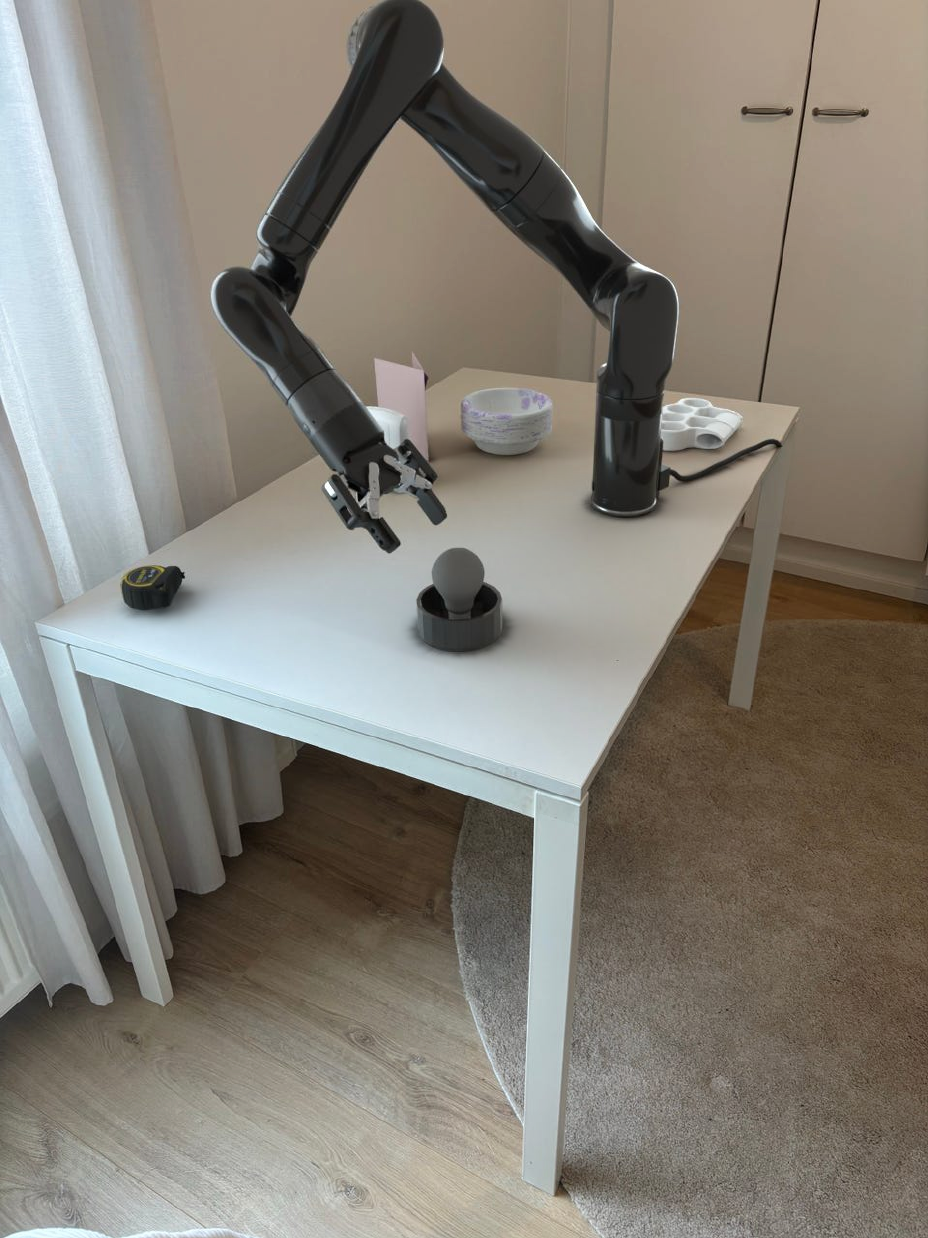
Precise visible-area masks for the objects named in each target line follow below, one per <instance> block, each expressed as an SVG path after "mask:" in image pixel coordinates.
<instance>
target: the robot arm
mask: <svg viewBox="0 0 928 1238" xmlns="http://www.w3.org/2000/svg"><path fill="white" fill-rule="evenodd" d="M347 33H348V34H347V37H346V45H345V46H346V58H347V62H348V66H349V67H350V72H349V75H348V77H347V79H346V82H345V83H344V86H343V88H342V90H341V92H340V94H339V95H338V98H337V99H336V101H335V103H334V105H333V107H332V109H331V110H330V111H329V113H328V115H327V117H326V118H325V119H324V121H323V123H322V124H321V125H320V126H319V128H318V130H317V131H316V133H315V134H314V136H313V137H312V138H311V139H310V141H309V142H308V144H307V145H306V146H305V148H304V149H303V150H302V152H301V153H300V154H299V156H298V157H297V159H296V160H295V161H294V162H293V164H292V166H291V167H290V169H289V170H288V172H286V174H285V176H284V177H283V179H282V181H281V182H280V183H279V186H278V187H277V189H276V191H275V193H274V194H273V196H272V198H271V200H270V202H269V203H268V205H267V207H266V209H265V211H264V213H263V214H262V216H261V218H260V220H259V222H258V224H257V227H256V230H255V240H256V242H257V246H258V248H257V252H256V255H255V257H254V259H253V261H252V264H251V267H246V266H239V265H237V266H236V265H235V266H231V267H228V268H225V269H223V270H222V271H220V272H219V273H218V274H217V275H216V276H215V278H214V279H213V281H212V283H211V286H210V289H209V290H210V291H209V301H210V302H209V303H210V307H211V310H212V312H213V315H214V317H215V318H216V320H217V322H218V323H219V324H220V326H221V327H222V328H223V330H224V331H225V333H227V335H228V336H229V337H230V338H231V340H233V342H234V343H235V344H236V345H237V346H238V347H239V348H240V349H241V351H242V352H243V353H245V355H246V356H248V358H249V359H250V360H251V361H252V362H253V363H254V364H255V365H256V366H257V367H258V368H259V369H260V371H261V372H262V373H263V374H264V376H265V377H266V379H267V381H268V382H269V384H270V385H271V387H272V388H273V389H274V391H275V392H276V393H277V395H278V396H279V398H280V399H281V400H282V402H283V404H285V406H286V407H287V408H288V410H289V413H290V414H291V415H292V418H293V420H294V421H295V424H297V426H298V427H299V429H300V430H301V431H302V433H303V434H304V435H305V437H306V439H308V441H309V442H310V444H311V445H312V446H313V448H314V449H315V451H316V452H317V453H318V454H319V456H320V458H322V460H323V462H324V463H325V464H326V466H327V467H328V468H329V469H330V471H331V472H335V473H333V474H332V475H330V476H329V478H328V479H327V480H326V481H325V483H323V484H322V486H321V491H322V493H323V495H324V496H325V498H326V499H327V501H328V502H329V504H330V505H331V507H332V508H333V509H334V511H335V512H336V514H337V516H338V517H339V519H340V520H341V522H342V523H343V525H344V526H345V528H346V529H347V530H349V531H354V530H355V529H359V528H362V529H364V530H366V531H367V532H368V533H369V535H370V536H371V537H372V539H373V540H374V541H375V543H376V544H377V545H378V547H379V549H381V550H382V551H384V552H386V553H387V554H392V553H393V552H395V551H396V550H397V549H398V548H399V547H400V546H401V545H402V543H401V540H400V538H398V535H397V534H396V533H395V532H394V530H393V529H392V528H391V526H390V525H389V523H388V522H387V520H385V518H384V517H383V516H380V508H379V507H380V506H379V501H380V498H381V497H382V496H384V495H388V494H390V493H392V492H393V491H394V492H396V493H398V494H406V495H408V496H410V497H412V498H414V499H416V503H417V504H418V506H419V507H420V509H421V510H422V511H423V512H424V514H425V516H427V518H428V520H429V521H430V522H431V524H432V525H434V526H438V525H440V524H442V522H444V521H445V520H446V519H447V518H448V514H447V510H446V507H445V506H444V504H443V503H442V502H441V501H440V499H439V498H438V496H437V495H436V494H435V492H434V491H433V488H432V487H433V485H434V483H435V482H436V481H437V480H438V478H439V475H438V473H437V472H436V470H435V469H434V468H433V467H432V466H431V464H430V463H429V461H427V460H426V459H425V458H424V457H423V456H422V454H421V453H420V452H419V451H418V449H417V448H416V447H415V446H414V444H413V443H412V442H411V441H410V440H408V439H405V440H404V441H403V442H402V443H401V444H400V445H399V446H398V447H396V448H395V449H393V448H391V447H390V446H388V445H387V444H386V442H385V439H384V431H383V429H382V428H381V427H380V425H379V424H378V423H377V421H376V420H375V419H374V417H373V416H372V414H371V413H370V412H369V410H368V409H367V408H366V407H367V406H366V404H364V402H363V401H362V399H361V397H359V396H358V394H357V392H355V390H354V388H353V387H352V386H351V385H350V383H348V381H347V380H346V379H345V378H344V377H343V376H342V375H341V374H340V373H339V372H338V371H337V369H336V368H335V366H334V365H333V364H332V362H331V361H330V360H329V358H328V357H327V356H326V354H325V352H324V351H323V350H322V348H320V346H319V345H318V344H317V343H316V342H315V341H314V339H312V337H311V336H309V335H308V334H307V333H306V332H304V331H303V330H302V329H301V328H300V327H299V326H298V325H297V324H296V322H295V321H294V320H293V318H292V315H293V313H294V311H295V309H296V306H297V304H298V301H299V299H300V296H301V293H302V290H303V287H304V285H305V282H306V279H307V276H308V272H309V269H310V266H311V263H312V262H313V260H314V259H315V258H316V256H317V254H318V253H319V250H320V249H321V248H322V246H323V244H324V242H325V241H326V239H327V237H328V235H329V234H330V232H331V230H332V228H333V227H334V225H335V224H336V221H337V220H338V218H339V217H340V214H341V212H342V211H343V209H344V207H345V206H346V204H347V202H348V200H349V199H350V197H351V195H352V193H353V191H354V189H356V186H357V184H358V183H359V181H360V179H361V178H362V176H363V174H364V172H365V171H366V169H367V167H368V166H369V164H370V163H371V161H372V160H373V157H374V156H375V155H376V154H377V151H378V150H379V148H380V147H381V146H382V145H383V143H384V142H385V140H386V139H387V137H388V135H389V134H390V133H391V131H392V130H393V129H394V127H395V126H396V125H397V123H398V122H399V121H400V120H401V121H402V122H403V123H405V125H407V126H408V127H409V128H410V129H412V130H413V131H414V132H415V133H416V134H417V135H419V136H420V137H421V138H422V139H423V140H424V141H425V142H426V143H427V144H428V145H429V146H430V147H431V148H432V149H433V150H434V151H435V153H437V155H438V156H439V157H440V158H441V159H442V160H443V162H444V163H445V164H446V165H447V166H448V167H449V168H450V170H451V171H452V172H453V173H454V174H455V175H456V176H457V178H458V179H459V180H460V181H461V182H462V183H463V184H464V185H465V186H466V187H467V188H468V189H469V190H470V192H472V194H474V196H475V197H476V198H477V199H478V200H479V202H481V203H482V204H483V206H484V207H485V208H486V209H487V210H488V211H489V212H490V213H491V214H492V215H493V216H494V217H495V218H496V219H497V220H498V221H499V223H500V222H501V224H502V225H503V226H504V227H505V229H507V230H508V231H509V232H510V233H511V234H512V235H514V236H515V237H516V238H517V239H518V240H519V241H521V243H522V244H524V245H525V246H526V247H527V248H528V249H530V250H531V251H532V252H533V253H534V254H535V255H537V256H538V257H539V258H540V259H542V260H544V261H545V262H546V263H547V264H549V265H550V266H552V267H553V268H554V269H555V270H556V271H557V272H558V273H559V274H560V275H562V277H563V278H564V279H565V281H567V282H568V284H569V285H570V286H571V287H572V289H573V290H574V291H575V293H577V295H578V296H579V297H580V298H581V300H582V301H583V302H584V303H585V305H586V306H587V308H588V310H589V311H590V312H591V313H592V314H593V316H594V318H595V319H596V320H597V321H598V323H599V324H600V325H601V326H602V327H603V328H605V330H607V331H609V341H608V353H607V355H608V356H607V361H606V363H604V364H602V365H601V366H600V367H599V368H598V370H597V375H596V390H595V391H596V392H595V414H594V416H595V417H594V438H593V459H592V460H593V461H592V462H593V463H592V479H591V496H590V505H591V507H592V508H593V509H595V510H596V511H598V512H599V513H602V514H605V515H608V516H612V517H623V518H624V517H627V518H628V517H638V516H642V515H645V514H648V513H650V512H652V511H653V510H654V509H655V508H656V505H657V501H659V500H660V492H661V491H663V490H665V489H667V488H669V487H670V478H671V477H673V478H674V479H675V480H676V481H678V482H690V481H694V480H698V479H700V478H703V477H704V476H707V475H708V474H710V473H712V472H714V471H716V470H718V469H721V468H723V467H725V466H727V465H729V464H731V463H733V462H735V461H736V460H738V459H739V458H742V457H744V456H746V455H749V454H751V453H753V452H756V451H758V450H760V449H762V448H764V447H766V446H769V445H774V446H775V447H777V448H781V447H783V444H782V442H781V441H780V440H778V439H776V438H768V439H765V440H763V441H760V442H758V443H756V444H754V445H752V446H749V447H746V448H744V449H742V450H740V451H738V452H735V453H734V454H732V455H731V456H729V457H727V458H725V459H722V460H720V461H718V462H716V463H714V464H712V465H710V466H708V467H706V468H704V469H702V470H701V471H698V472H696V473H693V474H688V475H681V474H680V473H679V472H678V471H676V470H675V469H672V468H671V466H668V465H664V464H663V454H664V450H663V439H662V438H661V426H662V414H663V407H664V400H665V399H664V398H665V390H666V389H665V387H666V380H667V378H668V376H669V374H670V372H671V369H672V366H673V361H674V353H675V347H676V338H677V330H678V323H679V298H678V293H677V290H676V287H675V286H674V284H673V283H672V281H671V280H670V279H669V278H668V277H666V276H665V275H663V274H662V273H659V272H658V271H656V270H653V269H651V268H650V267H647V266H645V265H643V264H641V263H639V262H638V261H637V260H635V259H633V258H632V257H631V256H630V255H629V254H627V253H626V252H625V251H624V250H622V249H621V248H620V247H619V246H618V245H617V244H616V243H615V242H614V241H613V240H612V239H611V238H610V237H608V236H607V235H606V234H605V233H604V232H603V230H601V228H600V227H599V226H598V224H597V223H596V222H595V220H594V218H593V217H592V215H591V213H590V211H589V210H588V207H587V206H586V203H585V202H584V200H583V198H582V196H581V195H580V194H579V191H578V189H577V188H576V186H575V185H574V183H573V182H572V181H571V179H570V178H569V176H568V175H567V174H566V173H565V171H564V170H563V169H562V168H561V167H560V166H559V164H558V163H557V162H556V161H555V160H554V159H553V158H552V157H551V156H550V154H548V153H547V151H546V150H545V149H544V148H543V147H542V146H541V145H540V144H539V143H538V142H537V141H536V140H535V139H534V138H532V137H531V135H529V134H528V133H527V132H526V131H525V130H523V129H522V128H520V127H519V126H518V125H517V124H515V123H513V122H512V121H511V120H509V119H508V118H507V117H505V116H503V115H502V114H501V113H499V112H498V111H496V110H495V109H493V108H491V106H488V105H487V104H486V103H484V102H482V101H481V100H479V99H478V98H477V97H476V96H474V95H473V94H472V93H471V92H470V91H468V90H467V89H466V88H465V87H464V86H463V85H462V83H460V82H459V81H458V79H456V77H455V76H454V75H453V74H452V72H451V71H450V70H449V69H448V68H447V66H446V65H445V64H444V63H443V60H444V52H445V37H444V34H443V29H442V26H441V23H440V21H439V19H438V17H437V15H436V14H435V12H434V10H432V8H431V7H430V6H428V5H427V4H426V3H424V1H422V0H381V1H379V2H377V3H375V4H374V5H372V6H370V7H368V8H367V9H366V10H364V11H362V12H361V13H360V14H359V15H358V16H357V17H356V18H355V19H354V20H353V22H352V24H351V26H350V28H349V30H348V32H347ZM420 470H421V471H422V472H421V471H420ZM337 473H338V474H337ZM401 475H402V476H404V477H403V479H401ZM350 491H353V492H354V495H353V494H352V492H350Z"/></svg>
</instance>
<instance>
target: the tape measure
mask: <svg viewBox="0 0 928 1238" xmlns="http://www.w3.org/2000/svg"><path fill="white" fill-rule="evenodd" d="M185 574H186V573H185V571H182V570H181V568H180V567H179V566H177V565H168V566H162V565H157V564H156V565H155V564H150V565H142V566H139V567H135V568H133V569H131V570H129V571H127V572H126V573H125V574H124V576H122V578H121V582H120V584H119V585H120V586H119V587H120V593H121V597H122V599H123V602H124V603H125V605H127V606H128V607H129V608H131V609H134V610H138V611H147V610H150V611H151V610H156V609H165V608H168V607H169V606H171V604H172V603H173V600H174V597H175V596H176V593H177V592H178V590H179V589H180V587H181V585H182V583H183V580H184V579H186V575H185Z"/></svg>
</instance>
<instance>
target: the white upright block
mask: <svg viewBox="0 0 928 1238" xmlns="http://www.w3.org/2000/svg"><path fill="white" fill-rule="evenodd" d="M366 408H367V409H368V410H369V412H370V413H371V414H372V416H373V417H374V419H375V420H376V421H377V423H378V424H379V425H380V427H381V428H382V429H383V431H384V439H385V442H386V444H387V445H388V446H390V447H391V448H393V449H395V448H396V447H398V446H399V445H400V444H401V443H402V442H403V441H404V440H405V439H408V440H409V430H408V420H407V417H406V416H405V415H403V414H401V413H399V412H397V411H394V410H391V409H387V408H382V407H378V406H366ZM403 477H404V476H402V475H401V479H403Z"/></svg>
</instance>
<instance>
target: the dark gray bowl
mask: <svg viewBox="0 0 928 1238" xmlns="http://www.w3.org/2000/svg"><path fill="white" fill-rule="evenodd" d="M415 602H416V615H417V628H418V635H419V637H420V639H421V640H422V641H423V642H424V643H425V644H427V645H428V646H431V647H432V648H434V649H437V650H442V651H446V652H469V651H476V650H479V649H482V648H485V647H487V646H489V645H491V644H492V643H494V642H495V641H497V639H498V638H499V637H500V636H501V633H502V631H503V597H502V594H501V592H500V590H498V589H497V588H496V587H495V585H492V584H490V583H488V582H486V581H483V584H482V586H481V588H480V590H479V591H478V593H477V594H476V596H475V598H474V603H473V607H472V609H471V618H470V619H460V620H455V619H449V611H448V609H447V608H446V606H445V601H444V599H443V597H442V596H441V594H440V593H439V592H438V590H437V589H436V588H435V586H434V583H432V584H430V585H428V586H426V587H424V588H423V589H422V590H421V591H420V592H419V593H418V595H417V597H416V600H415Z"/></svg>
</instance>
